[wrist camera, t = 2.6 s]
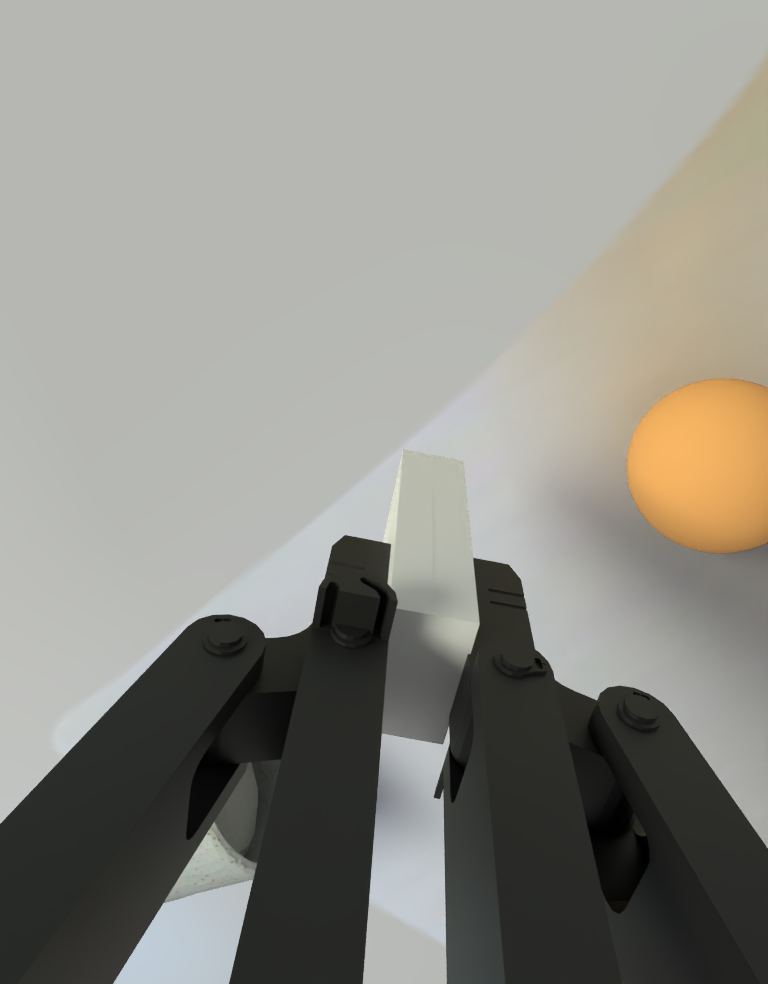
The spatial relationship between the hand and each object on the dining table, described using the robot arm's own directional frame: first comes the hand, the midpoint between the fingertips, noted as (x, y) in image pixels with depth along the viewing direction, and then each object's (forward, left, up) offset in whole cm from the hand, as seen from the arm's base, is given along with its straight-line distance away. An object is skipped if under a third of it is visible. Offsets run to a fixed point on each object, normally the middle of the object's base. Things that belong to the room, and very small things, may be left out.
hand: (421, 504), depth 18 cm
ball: (0, +9, -6) cm, 11 cm away
